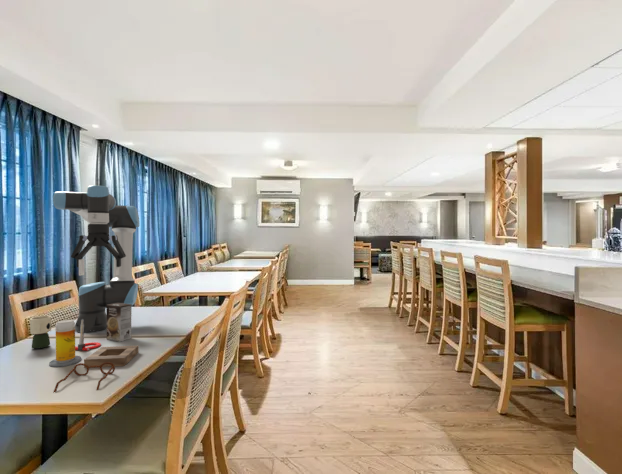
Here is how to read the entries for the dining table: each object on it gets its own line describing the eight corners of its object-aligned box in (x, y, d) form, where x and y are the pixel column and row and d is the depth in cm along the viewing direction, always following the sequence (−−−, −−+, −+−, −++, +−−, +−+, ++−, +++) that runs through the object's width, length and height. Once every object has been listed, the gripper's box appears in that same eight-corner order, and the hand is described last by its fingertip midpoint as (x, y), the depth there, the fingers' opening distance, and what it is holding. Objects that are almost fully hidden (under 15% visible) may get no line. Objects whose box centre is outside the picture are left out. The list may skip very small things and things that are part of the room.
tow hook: (88, 344, 154) (70, 350, 145) (89, 315, 154) (72, 319, 145) (105, 345, 153) (88, 351, 143) (106, 316, 153) (89, 320, 144)
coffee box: (105, 339, 159) (105, 304, 159) (118, 335, 165) (118, 302, 165) (120, 341, 156) (119, 306, 156) (132, 337, 162) (131, 303, 162)
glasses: (115, 374, 121) (115, 360, 121) (97, 391, 108) (97, 376, 108) (75, 376, 119) (75, 362, 119) (52, 394, 106) (51, 378, 106)
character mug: (49, 349, 145) (49, 319, 145) (28, 352, 142) (27, 321, 141) (52, 342, 155) (52, 313, 154) (32, 345, 151) (32, 315, 151)
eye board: (102, 354, 140) (102, 346, 140) (138, 352, 142) (138, 345, 142) (84, 367, 126) (84, 359, 126) (124, 365, 128) (124, 357, 128)
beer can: (74, 361, 130) (73, 322, 130) (54, 364, 128) (53, 324, 127) (76, 356, 136) (76, 318, 136) (57, 359, 133) (57, 320, 133)
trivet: (59, 357, 136) (59, 356, 136) (86, 356, 137) (86, 355, 137) (42, 367, 126) (42, 365, 126) (72, 366, 127) (72, 364, 127)
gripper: (60, 223, 136) (61, 276, 137) (126, 223, 139) (126, 276, 139) (71, 223, 144) (72, 274, 145) (134, 223, 146) (134, 273, 147)
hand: (99, 275), depth 142 cm, fingers open, 13 cm apart
